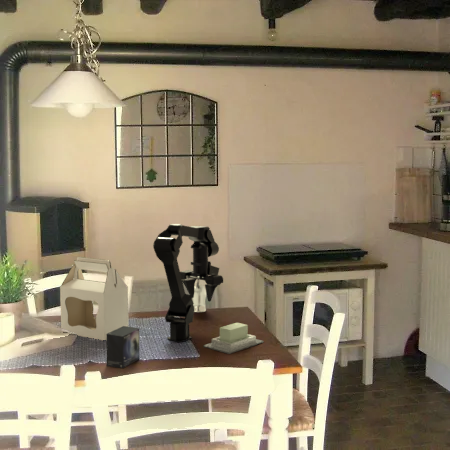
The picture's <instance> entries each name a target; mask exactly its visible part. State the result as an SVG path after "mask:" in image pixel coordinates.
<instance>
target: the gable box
mask: <svg viewBox="0 0 450 450" xmlns="http://www.w3.org/2000/svg"><path fill="white" fill-rule="evenodd" d="M73 261H74V264H71V267H70V270H69V271H68V272H67V275H65V276H66V277H65V278H64V280H63V282H62V283H61V284H60V287H59V291H60V292H59V293H60V294H59V295H60V297H59V298H60V299H59V300H60V302H59V303H60V325H61V326H60V327H61V328H63V329H66V330H69V331H71V332H74V333H76V334H77V335H78V336H79V337H83V338H87V337H88V339H93V338H94V339H93V340H98V339H99V341H103V340H106V341H107V335H106V334H107V333H109V332H112V331H114V330H116V329H118V328H120V327H122V326H127V327H130V325H129V287H128V285H127V284H126V282H125V281H124V280H123V277H121V275H120V274H119V273H118V271H117V269H116V268H114V267H112V263H111V261H110V260H109V259H103V258H94V257H93V258H92V257H85V256H83V257H82V256H77V257H76V259H75V260H73ZM83 270H84V271H92V272H101V273H105V274H106V280H105V281H97V280H90V279H85V277H84V275H83ZM92 301H93V303H92ZM94 302H95V303H97V306H98V307H97V313H96V316H94ZM77 335H76V336H77Z"/></svg>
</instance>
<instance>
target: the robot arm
mask: <svg viewBox="0 0 450 450" xmlns="http://www.w3.org/2000/svg"><path fill="white" fill-rule="evenodd" d="M210 228H211V227H209V226H204V225H203V226H200V225H191V226H188V225H183V224H181V223H171V224H169V225H168V226H167V228H166V229H165V230H163V231H162V232H160V233H158V235H157V237H156V238H155V239H154V242H153V244H152V247H153V250H154V251H153V252H154V253H155V255H156V258H157V259H158V260H159V261H161V262H162V264H163V268H164V271H165V275H166V280H167V285H168V288H169V291H170V296H171V298H170V301H169V303H168V309H167V311H166V314H165V316H164V318H165V322H166V323H169V336H168V337H167V338H166V339H167V340H170V341H174V342H178V343H180V342H184V341H188V340H191V339H192V338H193V337H192V336H190V324H191V323H193V322H194V314H195V312H194V306H193V304H194V303H193V300H192V298H194V283H195V281H196V280H197V279H199V280H205V282H206V283H207V284H205V288H206V297H207V298H206V299H207V301H208V302H211V301H212V298H213V295H214V293H215V291H216V288H217V287H218V286H221V284H223V283H224V277H223V275H220V274H219V272H220V267H217V266H214V265H212V262H211V261H209V258H210V257H213V256H215V255H217V254H218V253H219V251H220V247H219V244H218V243H216V241H215V238H214V236H213V232H212V230H211V229H210ZM172 236H177V237H172ZM183 237H184V238H186V237H187V238H188V239H189V240H191V242H192V241H193V243H192V244H191V246H190V248H191V249H192V261H190V265H191V266H192V270H191V269H190V270H189V269H188V270H187V269H186V270H182V271H180V266H179V261H178V257H179V255H180V252H181V251H180V249H181V246H183V243H184V242H183ZM202 277H203V278H202ZM184 286H185V287H184ZM185 289H186V290H187V293H186V291H185Z"/></svg>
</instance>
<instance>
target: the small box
mask: <svg viewBox="0 0 450 450" xmlns="http://www.w3.org/2000/svg"><path fill="white" fill-rule="evenodd" d="M106 335H107V340H106V365H105V366H106V367H112V368H118V369H124V368H126V367H128V366H129V365H132V364H133V363H134V362H136V361H139V360H140V327H134V326H133V327H132V326H129V327H127V326H122V327H120V328H118V329H116V330H114V331H112V332H109V333H107V334H106ZM138 359H139V360H138Z"/></svg>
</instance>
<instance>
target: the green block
mask: <svg viewBox="0 0 450 450" xmlns="http://www.w3.org/2000/svg"><path fill="white" fill-rule="evenodd" d="M248 326H249V325H248V324H244V323H240V322H235V323H230V324H227V325H224V326H221V327H219V337H220V340H221V341H225V342H229V343H232V342H235V341H238V340H241V339H244V338H248V331H249V330H248V329H249V327H248Z"/></svg>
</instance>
